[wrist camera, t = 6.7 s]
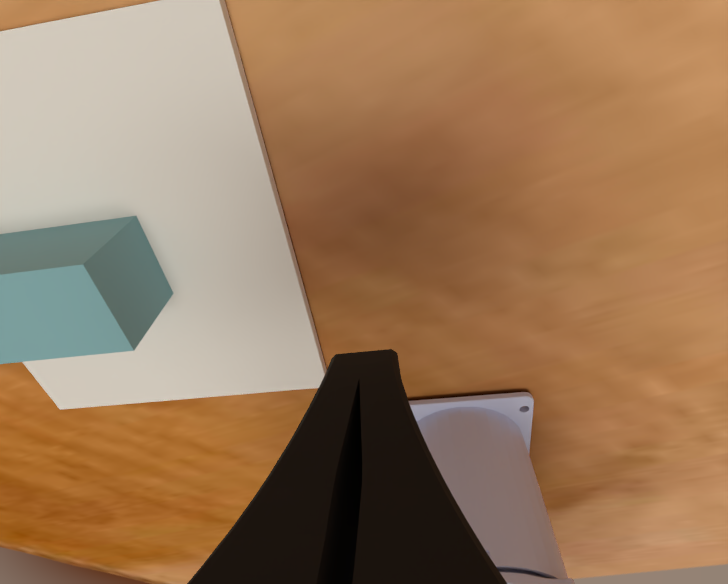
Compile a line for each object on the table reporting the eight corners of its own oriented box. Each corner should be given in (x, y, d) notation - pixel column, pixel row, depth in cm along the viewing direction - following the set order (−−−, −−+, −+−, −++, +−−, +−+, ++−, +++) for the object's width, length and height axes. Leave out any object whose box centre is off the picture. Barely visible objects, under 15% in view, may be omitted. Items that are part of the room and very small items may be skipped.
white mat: (329, 378, 24) (328, 386, 24) (66, 401, 26) (60, 409, 26) (221, -11, 14) (216, -11, 14) (-191, 69, 16) (-209, 71, 16)
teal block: (133, 350, 17) (-66, 370, 18) (173, 293, 21) (2, 312, 22) (82, 264, 15) (-141, 292, 16) (136, 215, 19) (-53, 241, 20)
